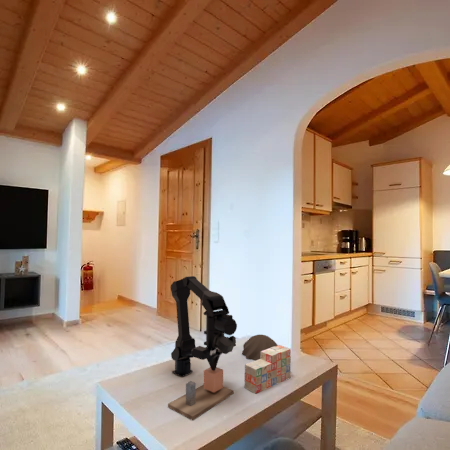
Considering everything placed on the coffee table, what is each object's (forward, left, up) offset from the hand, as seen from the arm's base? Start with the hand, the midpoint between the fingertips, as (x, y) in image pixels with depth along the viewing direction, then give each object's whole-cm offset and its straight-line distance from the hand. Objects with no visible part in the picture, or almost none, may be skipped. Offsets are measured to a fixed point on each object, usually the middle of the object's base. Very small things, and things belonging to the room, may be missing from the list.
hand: (213, 370), depth 117 cm
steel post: (0, -12, -9) cm, 15 cm away
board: (0, -6, -9) cm, 11 cm away
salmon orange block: (0, 0, -7) cm, 6 cm away
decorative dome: (-7, +45, -9) cm, 47 cm away
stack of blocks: (+11, +21, -9) cm, 26 cm away
